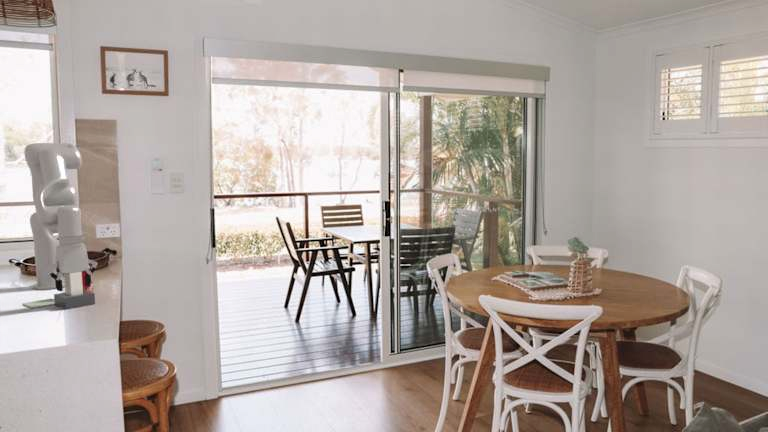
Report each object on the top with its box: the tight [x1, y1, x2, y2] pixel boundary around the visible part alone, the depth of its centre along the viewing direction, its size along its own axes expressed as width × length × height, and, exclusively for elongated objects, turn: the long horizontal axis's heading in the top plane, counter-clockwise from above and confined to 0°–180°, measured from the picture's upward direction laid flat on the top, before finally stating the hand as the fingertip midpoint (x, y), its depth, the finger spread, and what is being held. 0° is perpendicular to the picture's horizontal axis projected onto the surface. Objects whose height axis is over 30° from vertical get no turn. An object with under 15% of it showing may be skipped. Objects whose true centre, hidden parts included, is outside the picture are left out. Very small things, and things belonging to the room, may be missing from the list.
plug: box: [63, 272, 83, 296], centre depth 219 cm, size 5×4×12 cm
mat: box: [22, 298, 55, 309], centre depth 221 cm, size 10×10×1 cm
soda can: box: [82, 264, 94, 293], centre depth 230 cm, size 7×7×12 cm
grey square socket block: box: [53, 290, 96, 310], centre depth 219 cm, size 10×10×4 cm
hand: (74, 288), depth 219 cm, fingers open, 9 cm apart
